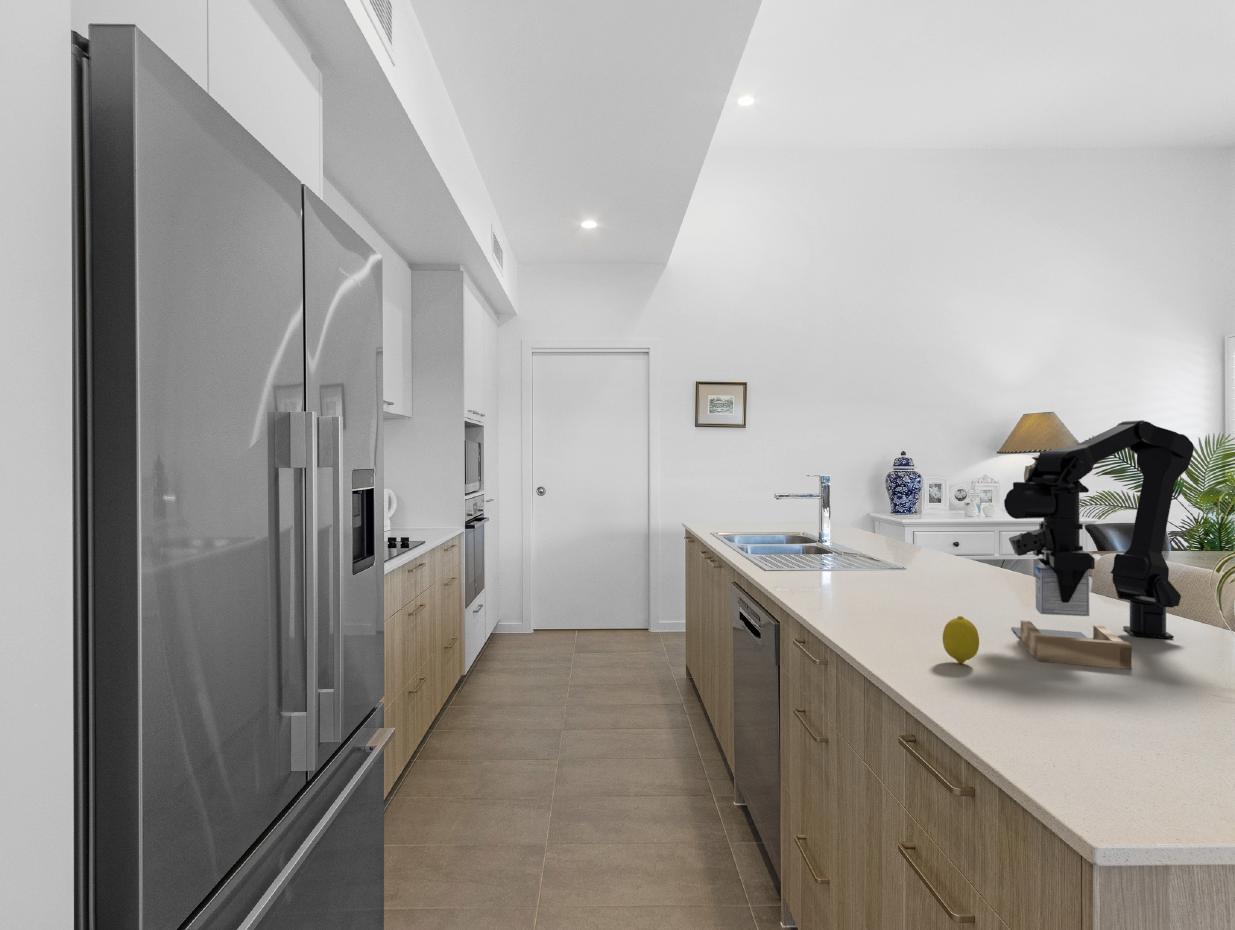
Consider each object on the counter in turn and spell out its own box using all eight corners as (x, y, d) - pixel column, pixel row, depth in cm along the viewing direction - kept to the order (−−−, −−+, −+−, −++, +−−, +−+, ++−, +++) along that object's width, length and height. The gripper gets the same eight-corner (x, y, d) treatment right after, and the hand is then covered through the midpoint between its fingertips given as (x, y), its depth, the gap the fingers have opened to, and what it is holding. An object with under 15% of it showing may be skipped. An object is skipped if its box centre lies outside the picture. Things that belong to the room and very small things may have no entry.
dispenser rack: (1020, 638, 133) (1020, 617, 133) (1103, 644, 128) (1103, 623, 128) (1037, 660, 118) (1037, 637, 118) (1131, 668, 113) (1131, 644, 113)
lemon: (983, 669, 113) (983, 620, 113) (947, 667, 115) (947, 619, 114) (973, 659, 119) (973, 613, 119) (938, 658, 120) (938, 611, 120)
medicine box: (1082, 612, 131) (1082, 566, 131) (1090, 617, 127) (1089, 570, 127) (1035, 609, 134) (1034, 565, 134) (1040, 614, 130) (1040, 568, 130)
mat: (1011, 628, 140) (1011, 627, 140) (1081, 633, 136) (1081, 632, 136) (1018, 638, 133) (1018, 636, 133) (1092, 643, 129) (1092, 642, 129)
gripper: (1004, 512, 142) (1004, 588, 142) (1022, 520, 124) (1022, 607, 124) (1067, 513, 138) (1068, 591, 138) (1095, 522, 120) (1095, 611, 121)
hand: (1061, 599), depth 130 cm, fingers closed on medicine box, 4 cm apart
